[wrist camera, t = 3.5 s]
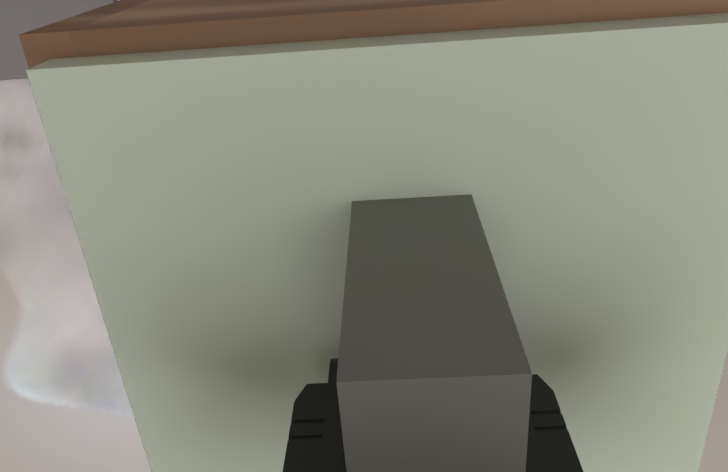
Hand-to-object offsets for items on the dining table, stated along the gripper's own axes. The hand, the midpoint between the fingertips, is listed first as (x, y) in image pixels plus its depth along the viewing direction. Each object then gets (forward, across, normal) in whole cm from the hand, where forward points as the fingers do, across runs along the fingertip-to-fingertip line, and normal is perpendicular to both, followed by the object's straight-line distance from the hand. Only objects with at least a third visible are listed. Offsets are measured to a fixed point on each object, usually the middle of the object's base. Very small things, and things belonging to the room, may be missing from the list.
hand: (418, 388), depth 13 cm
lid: (+3, 0, 0) cm, 3 cm away
